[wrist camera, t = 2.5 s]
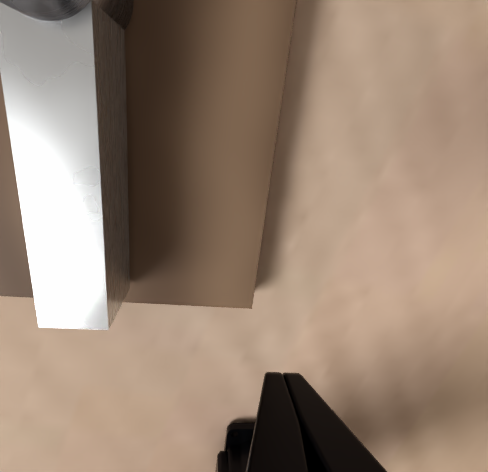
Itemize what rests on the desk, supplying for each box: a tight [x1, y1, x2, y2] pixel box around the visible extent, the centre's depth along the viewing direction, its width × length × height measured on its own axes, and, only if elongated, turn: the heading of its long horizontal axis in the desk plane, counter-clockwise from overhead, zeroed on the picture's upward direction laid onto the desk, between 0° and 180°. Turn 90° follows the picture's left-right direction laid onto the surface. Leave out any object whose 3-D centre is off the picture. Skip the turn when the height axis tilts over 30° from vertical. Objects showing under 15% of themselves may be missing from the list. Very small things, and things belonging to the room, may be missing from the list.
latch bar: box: [0, 0, 134, 330], centre depth 10 cm, size 12×3×4 cm, turn 173°
